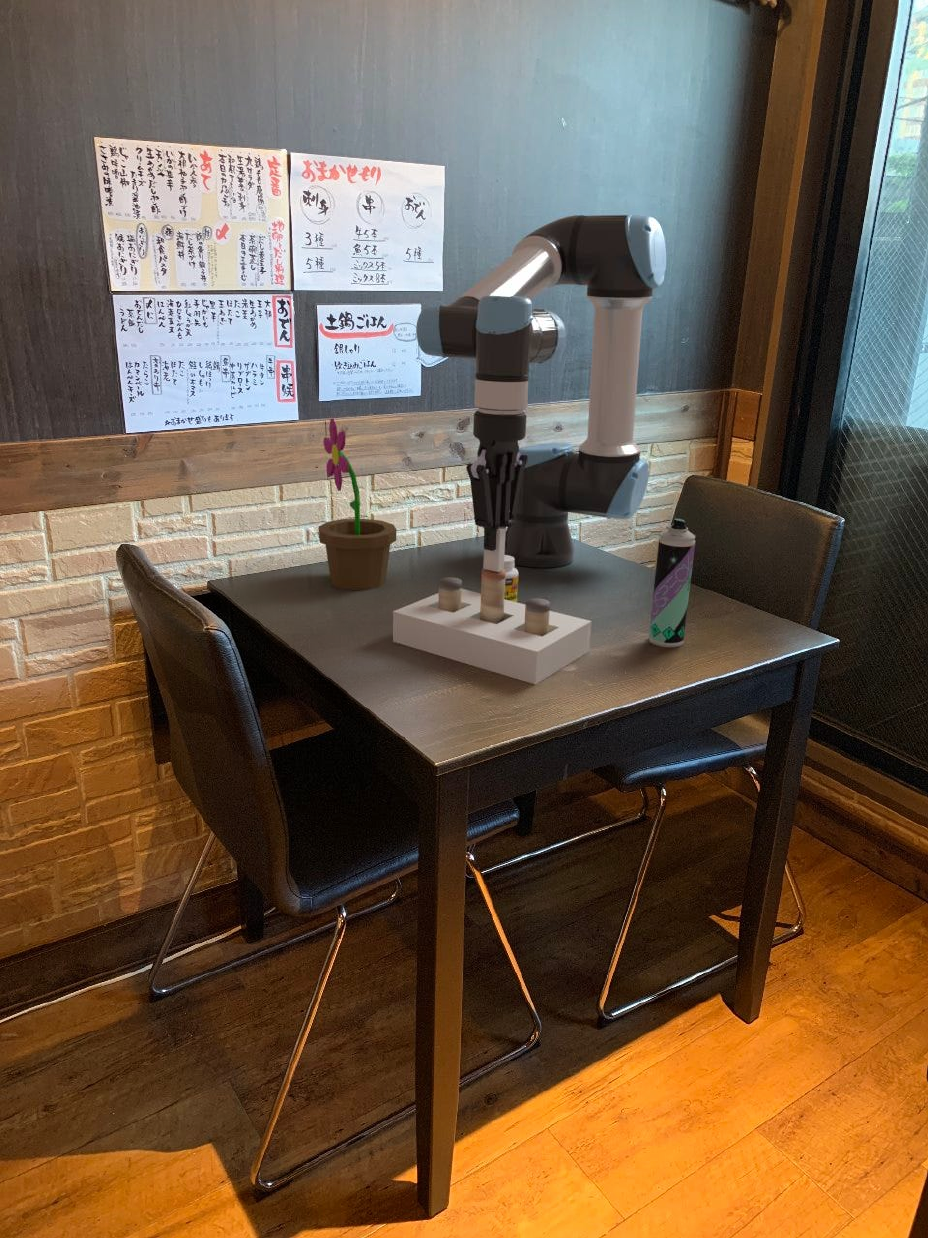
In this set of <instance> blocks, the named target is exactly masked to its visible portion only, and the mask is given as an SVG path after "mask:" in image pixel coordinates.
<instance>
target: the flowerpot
mask: <svg viewBox="0 0 928 1238" xmlns="http://www.w3.org/2000/svg"><path fill="white" fill-rule="evenodd" d="M328 429H329V430H328V431H329V437H324V438H323V440H322V441H323V446H324V451H325V452H326V453H327V454H329V455H330V454H331V458H329V459H328V461H327V462H326V476H327V478H330V477H334V478H333V479H334V485H335V486H336V488H337V491H338V492H339V491H342V486H343V475H342V473H345V474H348V475H349V476H350V480H351V481H350V482H351V485H352V492H353V496H354V500H352V501H350V502H349V507H350V508H351V509H352V510H353V511H354V518H343V519H342V518H341V519H337V520H332V521H331V520H330V521H327V522H325V523H323V524H320V525H318V539H319V543H320V544H323V545H325V551H326V558H327V564H328V570H329V571H328V572H329V577H330V578H329V579H330V582H331V583H330V584H331V585H332V586H334V587H336V588H339V589H344V590H349V591H350V590H351V591H355V590H356V591H357V590H358V591H359V590H363V591H364V590H372V589H376V588H379V587H382V586H383V585H384V584H385V583H386V582H387V581H386V579H387V572H388V565H389V563H388V562H389V557H390V549H391V545H392V544H393V543H395V542H396V541H397V527H396V526H395V524H392V523H390V522H387V521H384V520H380V519H370V518H361V512H360V511H361V508H360V506H361V501H360V499H361V497H360V490H359V489H360V488H359V485H358V481H357V477H356V473H355V471H354V469H353V468H352V465H351V463H350V461H349V459H348V457H346V455H345V454H344V453H343V451H344V448H345V446H346V433H345V430H343V431H341V432H338V427H337V424H336V422H335V419H334V418H333V417H332V418H330V420H329V428H328Z"/></svg>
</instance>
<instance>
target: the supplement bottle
mask: <svg viewBox="0 0 928 1238" xmlns="http://www.w3.org/2000/svg"><path fill="white" fill-rule="evenodd" d="M515 566H516V564H514V557H512V556H509V555H504V570H505V571H506V573H505V595H504V599H505V600H509V601H513V602H517V603H518V589H519V588H518V587H519V570H518V569H517V568H516V567H515Z"/></svg>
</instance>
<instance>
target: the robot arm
mask: <svg viewBox="0 0 928 1238" xmlns="http://www.w3.org/2000/svg"><path fill="white" fill-rule="evenodd" d="M666 247H667V246H666V239H665V234H664V233H663V229H662V226H661V225H660V223H659V222H658V220H656V219H655V218H654V217H652V216H649V215H648V216H647V215H640V214H639V215H636V214H624V215H623V214H621V215H619V214H615V215H614V214H612V215H609V214H607V215H605V214H604V215H603V214H602V215H600V214H599V215H582V214H581V215H578V214H575V215H569V216H565V217H562V218H558V219H556V220H553V221H552V222H549V223H547V224H545V225H543V226H541V227H539V228H537V229H535V230H534V231H532V232H530V233H529V234H527V235H526V236H525V237H524V238H522V239H521V240H520V241H518V242H517V244H516V245H515V246H514V248H513V250H512V252H511V256H510V257H508V258H506V259H505V261H503V262H502V263H501V264H499V265H498V266H497V267H495V269H493V270H492V271H490V272H489V273H488V274H487V275H486V276H484V277H483V278H482V279H480V281H478V282H476V284H475V285H473V286H472V287H470V289H468V290H467V291H466V292H464V293H463V294H462V295H460V297H458V298H457V299H456V300H454V301H453V302H452V303H451V304H449V305H442V304H438V305H427V306H426V307H424V308H423V309H422V310H421V311H420V313H419V315H418V318H417V321H416V325H415V326H416V328H415V332H416V333H415V334H416V338H417V340H416V341H417V344H418V347H419V348H420V350H421V351H422V352H423V353H424V354H425V355H428V356H434V357H441V358H443V359H446V358H451V359H465V360H467V359H468V360H475V375H474V377H475V385H474V406H475V408H477V409H478V410H476V411H475V412H474V413H473V423H472V424H473V425H472V426H473V430H472V433H473V434H472V435H473V437H475V438H476V439H477V440H478V441H479V444H478V446H479V447H478V449H477V454H476V455H477V458H476V460H475V461H474V462H473V463H470V462H468V463H467V465H466V472H467V474H468V477H469V481H470V489H471V498H472V508H473V516H474V517H473V518H474V524H475V525H476V526H477V527H480V528H483V568H482V569H487V570H491V571H495V572H500V571H502V570H504V555H509V556H512V557H514V564H515V566H516V565H517V566H521V567H527V568H528V567H530V568H542V569H543V568H544V569H545V568H556V567H562V566H567V565H569V564H571V563H573V561H574V559H575V558H574V557H575V547H574V544H573V543H574V542H573V539H572V535H571V531H570V527H569V521H568V520H569V513H572V514H579V515H584V516H585V515H586V516H591V517H592V516H593V517H599V518H604V519H605V518H606V519H607V520H610V519H614V520H615V519H616V520H629V519H630V518H632V517H633V516H634V515H635V514H636V513H637V511H639V508H640V505H641V504H642V502H643V500H644V499H643V498H644V496H645V494H646V489H647V487H648V481H649V478H650V477H649V476H650V469H649V467H650V466H649V462H647V461H646V460H644V459H641V448H640V447H639V445H638V444H637V443H636V442H635V441H634V429H635V415H636V405H637V404H636V401H637V391H638V390H637V387H638V375H639V363H640V362H639V361H640V349H641V337H642V336H641V335H642V321H643V310H644V307H645V306H646V304H648V303H649V302H650V301H651V300H652V299H653V292H654V290H655V289H657V288H659V287H661V285H662V284H663V283H664V280H665V272H666V270H667V250H666ZM558 285H571V286H573V285H578V286H586V287H587V288H586V298H587V299H588V301H589V302H590V303H592V305H593V307H594V313H593V314H594V316H593V328H592V329H593V331H592V350H591V351H592V353H591V369H590V371H591V372H590V384H589V401H588V402H589V404H588V421H587V438H586V440H584V441H583V442H582V443H580V445H579V446H578V453H577V452H574V447H573V445H572V444H571V443H567V442H566V443H565V442H551V443H550V442H548V443H547V442H546V443H538V444H536V443H535V444H532V445H531V444H530V445H525V446H521V447H520V446H519V442H518V441H522V440H524V439H525V438H526V432H527V415H526V412H524V410H526V409H527V408H528V400H529V399H528V398H529V397H528V395H529V372H530V370H529V369H530V364H543V363H545V362H547V361H550V360H552V359H554V358H556V357H557V356H558V355H559V354H560V353H561V352H562V350H563V348H564V346H565V343H566V339H567V336H566V334H567V333H566V328H565V327H566V326H565V324H564V322H563V321H562V319H561V318H560V316H558V314H556V313H555V312H552V311H550V310H546V309H544V308H543V309H537V308H534V309H533V303H532V300H531V299H532V298H534V297H535V296H536V294H538V293H539V292H545V291H548V290H550V289H552V288H553V287H554V286H558Z"/></svg>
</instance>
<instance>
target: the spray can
mask: <svg viewBox="0 0 928 1238" xmlns="http://www.w3.org/2000/svg"><path fill="white" fill-rule="evenodd" d="M695 539H696V535H695V534H694V533H692V532H691V531H689V528H688V527H687V525H686V521H685V520H684V519H683V518H679V517H677V518H673V523H672V524H671V525H670V526H668V528H667V529H666V530H663V531H661V532H660V534H659V538H658V547H657V553H656V555H657V556H656V565H655V566H656V567H655V576H654V585H653V591H652V593H653V594H652V602H651V612H650V623H649V630H648V631H649V633H648V641H649V642H650V643H651V644H653V645H656V646H658V647H662V648H677V647H681V646H682V645H684V641H685V631H686V623H687V615H688V607H689V598H690V590H691V581H692V580H691V579H692V573H693V565H694V556H695V548H696V540H695Z"/></svg>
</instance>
